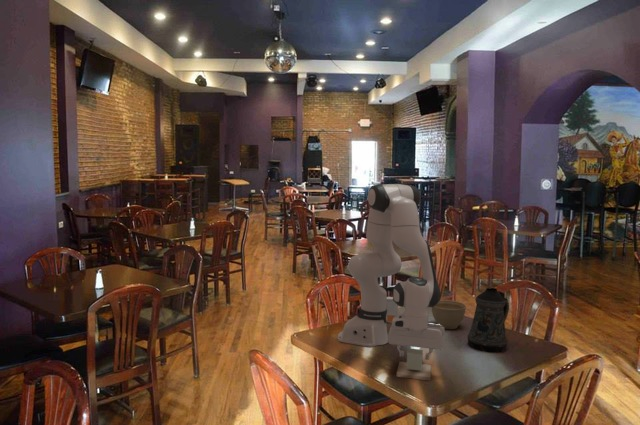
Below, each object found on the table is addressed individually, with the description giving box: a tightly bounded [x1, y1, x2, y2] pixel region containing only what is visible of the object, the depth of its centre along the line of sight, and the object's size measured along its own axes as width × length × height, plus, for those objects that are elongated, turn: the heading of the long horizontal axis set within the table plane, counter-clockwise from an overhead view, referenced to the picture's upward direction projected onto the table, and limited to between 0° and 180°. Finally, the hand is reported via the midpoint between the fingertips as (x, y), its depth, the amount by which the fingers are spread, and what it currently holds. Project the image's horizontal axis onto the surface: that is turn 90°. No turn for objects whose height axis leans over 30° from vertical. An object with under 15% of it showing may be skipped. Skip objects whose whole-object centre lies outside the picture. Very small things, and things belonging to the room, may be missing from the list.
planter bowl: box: [431, 299, 467, 330], centre depth 254 cm, size 16×16×11 cm
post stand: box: [396, 361, 432, 381], centre depth 197 cm, size 12×12×7 cm
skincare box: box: [386, 296, 399, 324], centre depth 259 cm, size 6×4×12 cm
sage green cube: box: [406, 348, 424, 371], centre depth 196 cm, size 5×5×6 cm
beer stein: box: [467, 287, 510, 354], centre depth 228 cm, size 16×19×25 cm
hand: (414, 357), depth 197 cm, fingers open, 8 cm apart
